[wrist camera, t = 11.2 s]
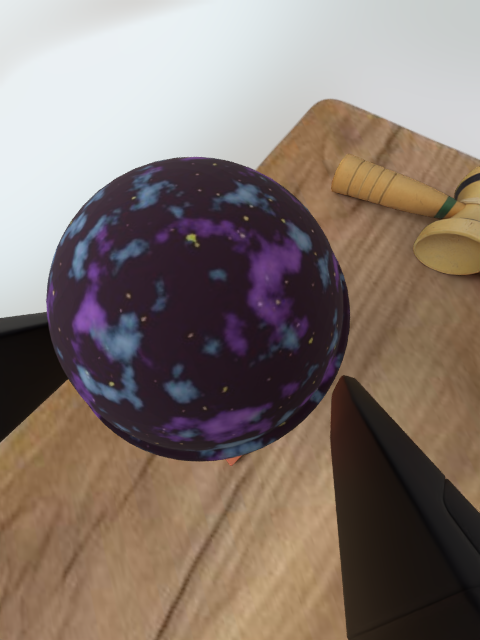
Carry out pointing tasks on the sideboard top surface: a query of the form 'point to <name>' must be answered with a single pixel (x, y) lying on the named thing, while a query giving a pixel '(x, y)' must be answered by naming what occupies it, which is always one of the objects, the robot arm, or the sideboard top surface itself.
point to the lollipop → (197, 308)
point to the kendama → (423, 211)
